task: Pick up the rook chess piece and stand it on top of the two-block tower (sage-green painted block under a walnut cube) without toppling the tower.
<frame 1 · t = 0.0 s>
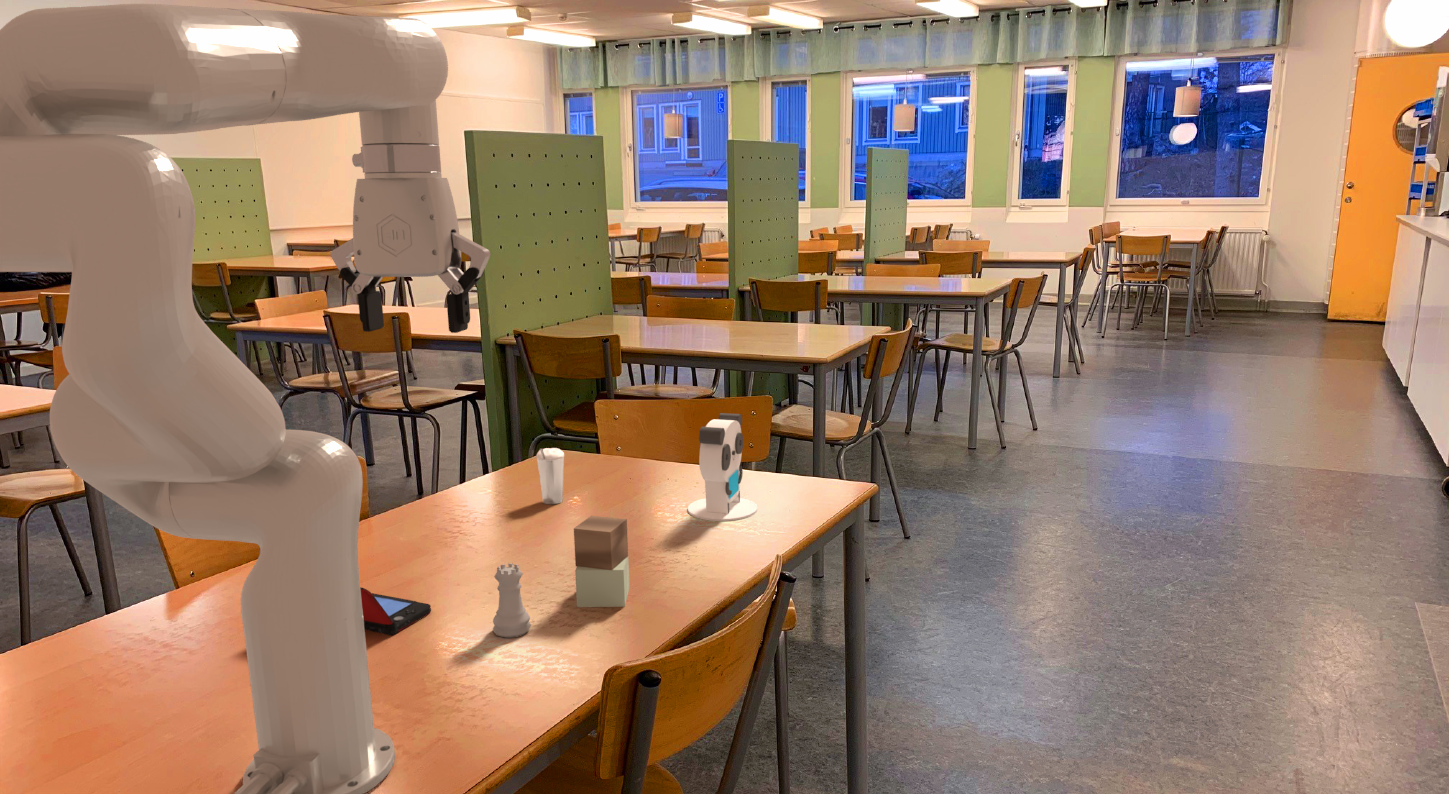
hand: (415, 330, 103), 37 cm above the table, tool pointing down, fingers open, 9 cm apart
rook chess piece: (512, 632, 115), on the table
top block: (602, 561, 124), point 5 cm above the table, touching base block
panda figurine: (722, 511, 158), on the table
milkshake: (551, 503, 163), on the table
base block: (603, 597, 125), on the table, touching top block
handheld game console: (364, 624, 119), on the table
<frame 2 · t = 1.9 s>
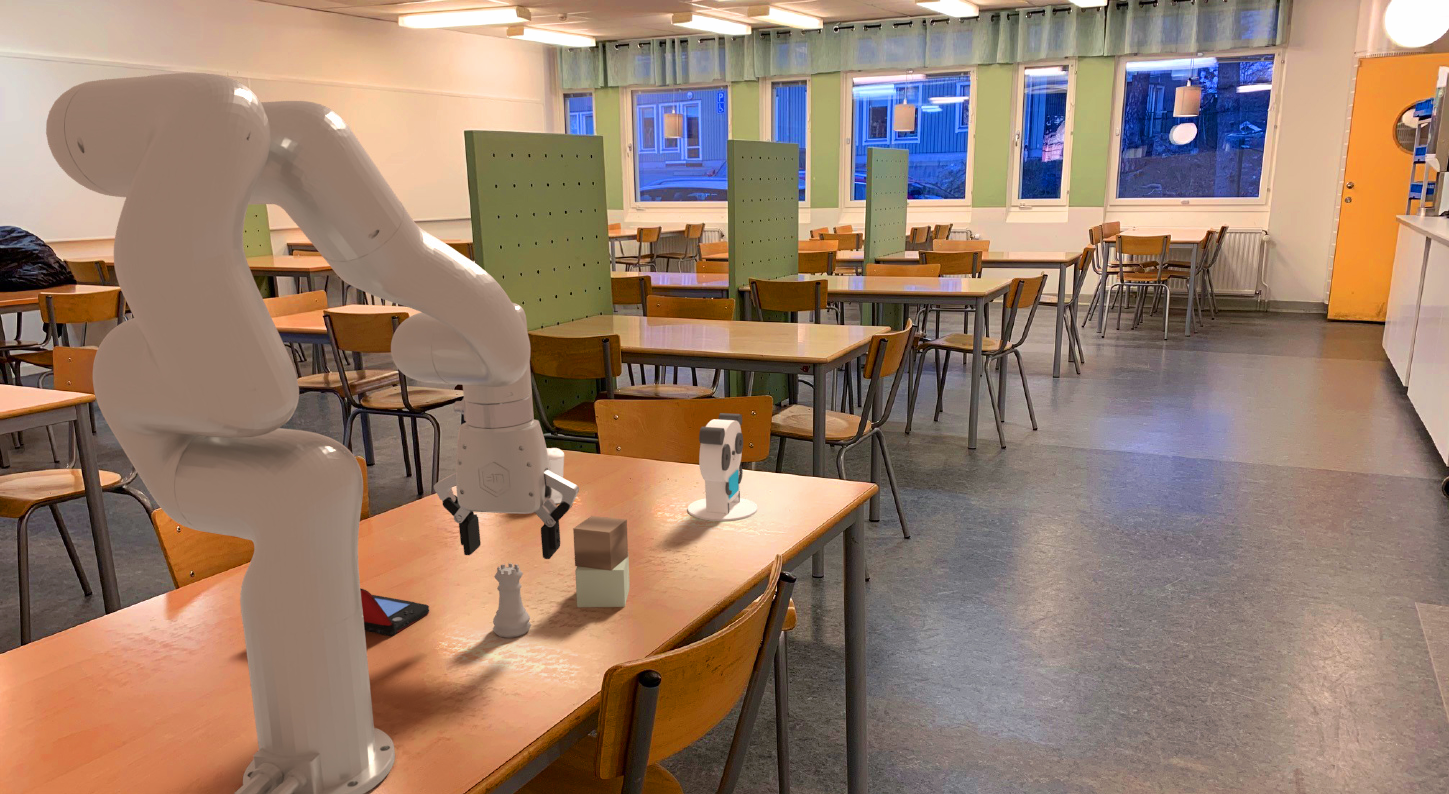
hand: (511, 552, 114), 9 cm above the table, tool pointing down, fingers open, 9 cm apart
nothing on the table moved.
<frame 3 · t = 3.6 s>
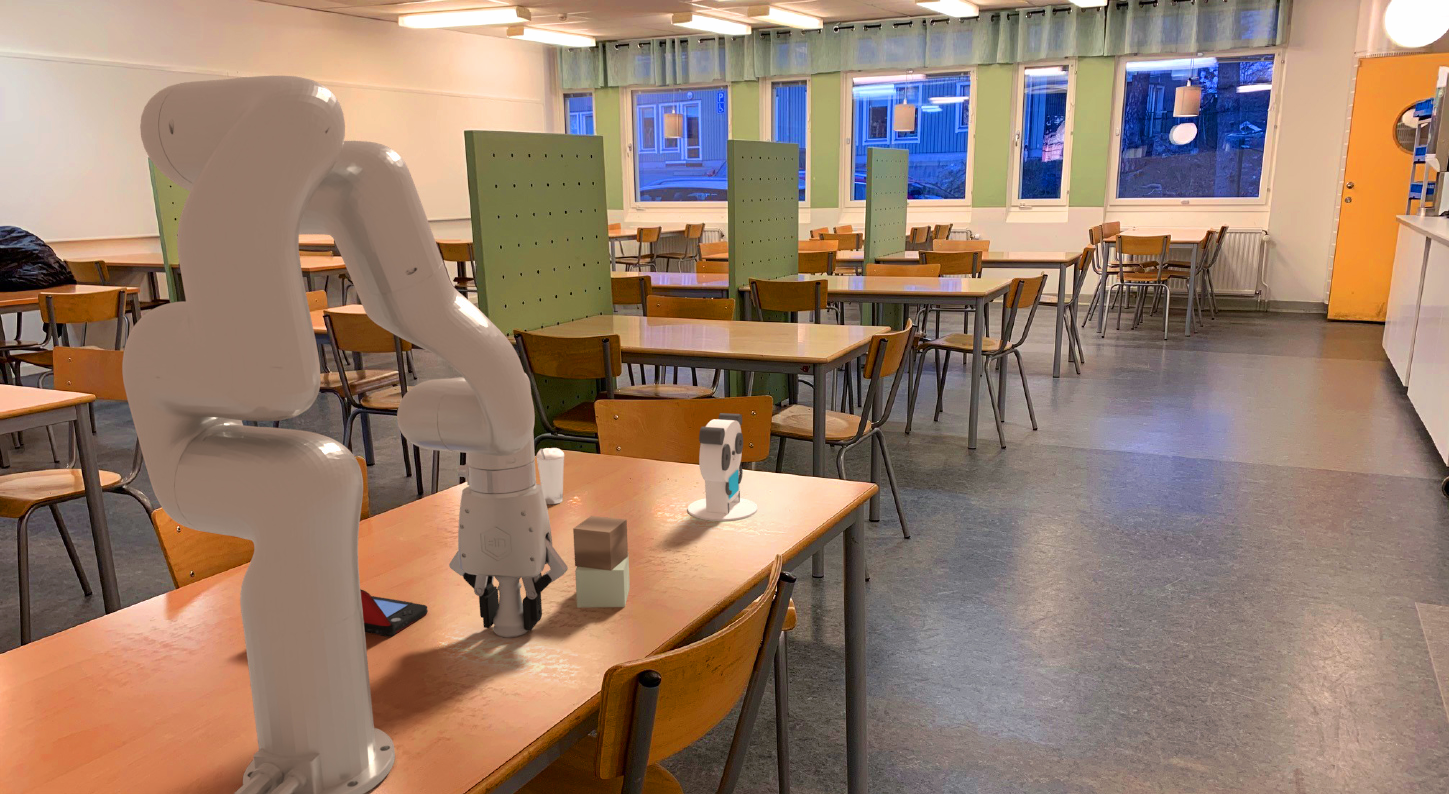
hand: (511, 623, 115), 1 cm above the table, tool pointing down, fingers closed on rook chess piece, 4 cm apart
rook chess piece: (512, 632, 115), on the table, touching gripper
everything else where it was.
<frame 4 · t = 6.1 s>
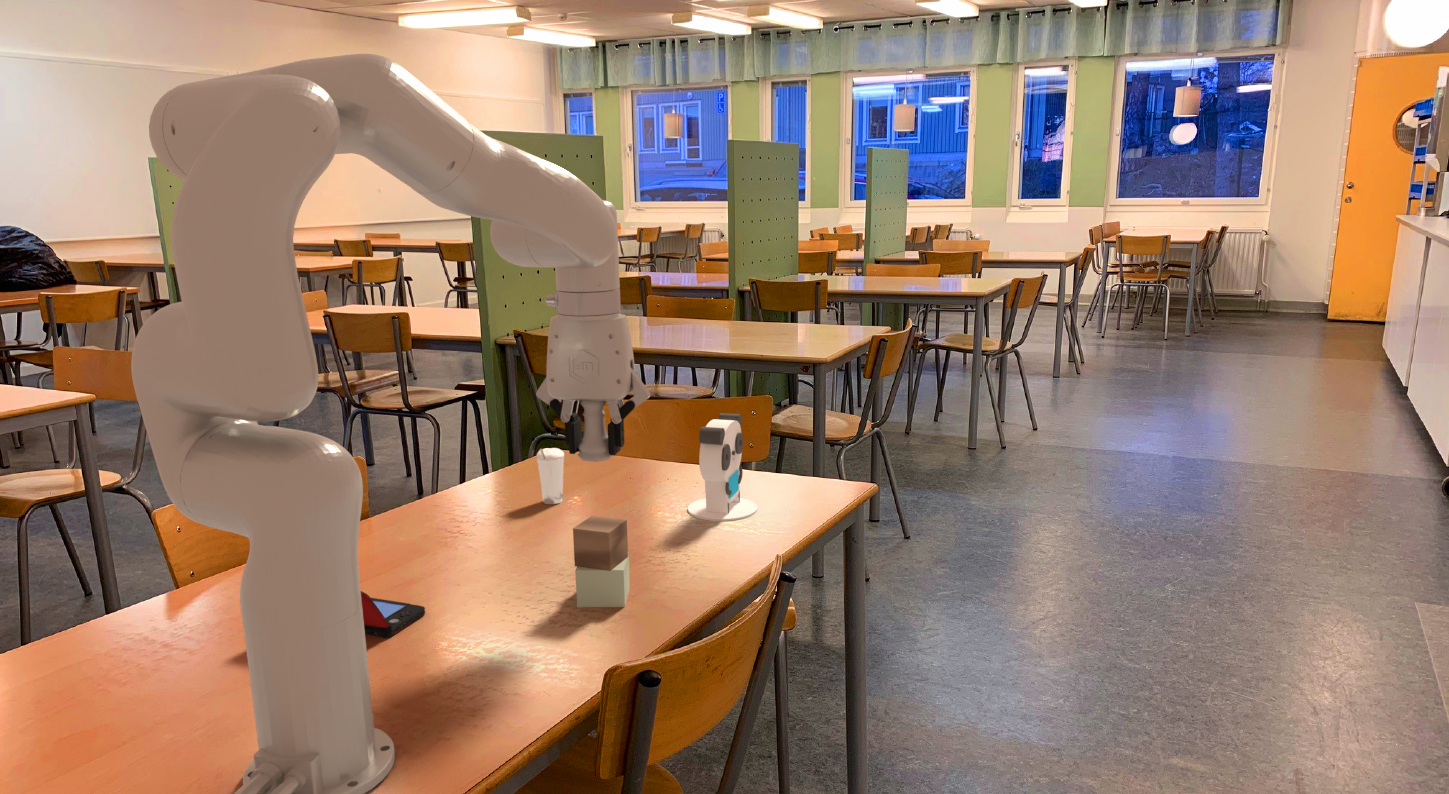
hand: (595, 450, 120), 20 cm above the table, tool pointing down, fingers closed on rook chess piece, 4 cm apart
rook chess piece: (595, 459, 120), point 18 cm above the table, touching gripper
when the fingers open (11 cm above the table, at t = 8.7 s): rook chess piece stays where it is, resting on top block.
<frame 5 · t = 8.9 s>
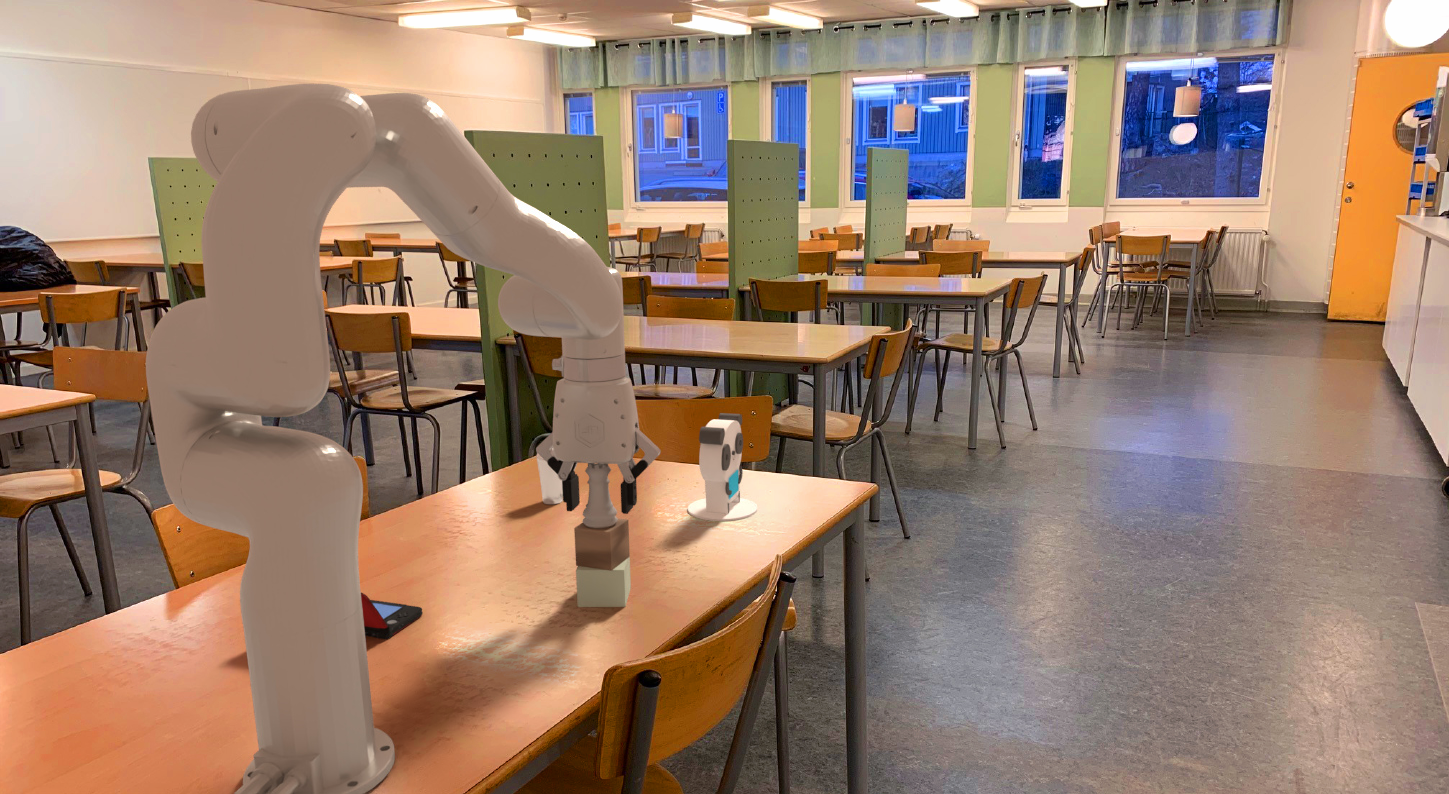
hand: (600, 508, 122), 12 cm above the table, tool pointing down, fingers open, 6 cm apart
rook chess piece: (600, 525, 122), point 10 cm above the table, touching top block
top block: (603, 561, 123), point 5 cm above the table, touching base block, rook chess piece
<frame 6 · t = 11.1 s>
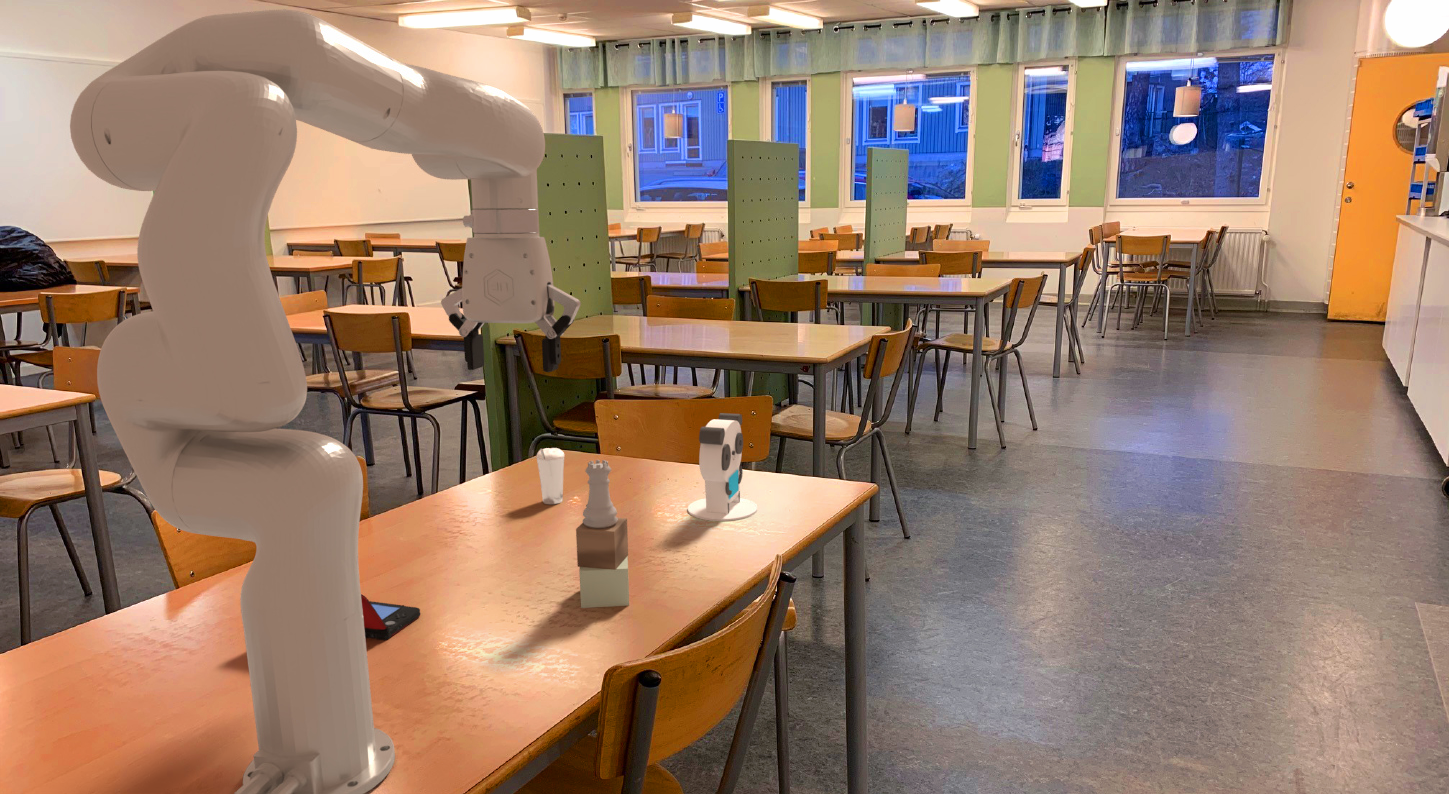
hand: (513, 369, 117), 30 cm above the table, tool pointing down, fingers open, 9 cm apart
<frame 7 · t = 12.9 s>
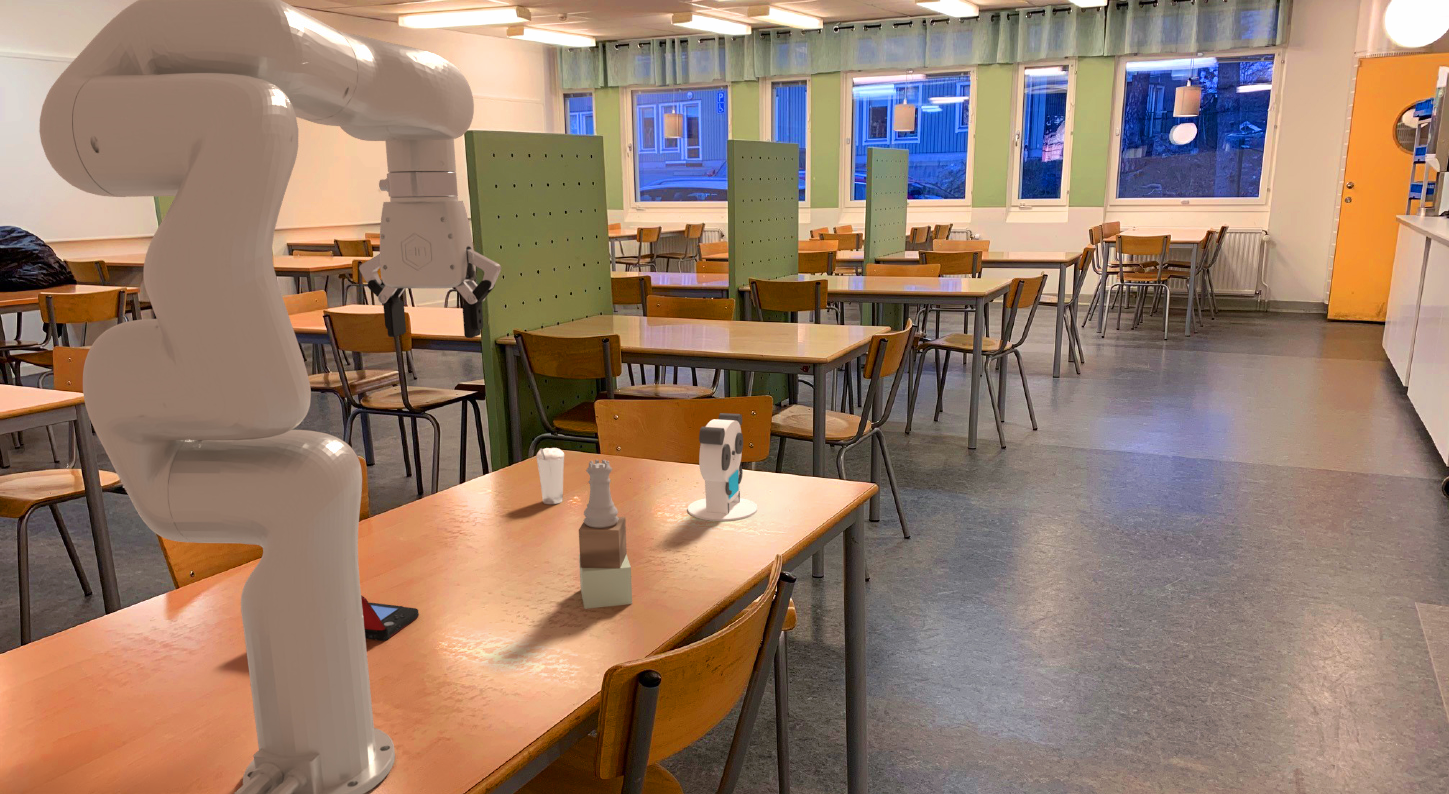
hand: (434, 335, 116), 34 cm above the table, tool pointing down, fingers open, 9 cm apart
at the end: rook chess piece 0.1 cm off-centre on the top block, point 4.8 cm above the top block's base; rook chess piece tilted 0°; top block moved 0.3 cm from its start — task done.
